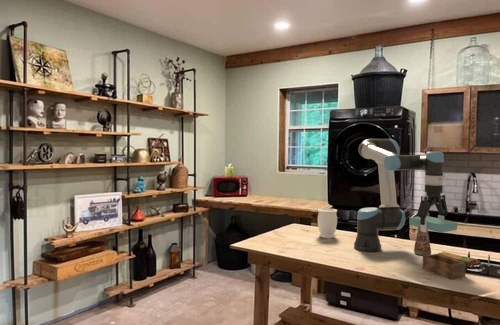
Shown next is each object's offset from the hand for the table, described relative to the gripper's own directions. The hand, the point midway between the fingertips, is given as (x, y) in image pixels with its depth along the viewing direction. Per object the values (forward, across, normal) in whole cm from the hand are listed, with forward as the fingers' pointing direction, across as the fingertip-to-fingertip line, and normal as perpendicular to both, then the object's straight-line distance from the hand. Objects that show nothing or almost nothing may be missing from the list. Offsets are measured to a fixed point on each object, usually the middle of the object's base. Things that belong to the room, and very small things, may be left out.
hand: (432, 230), depth 171 cm
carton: (+20, +20, +1) cm, 28 cm away
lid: (-1, 0, 0) cm, 1 cm away
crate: (+19, 0, -7) cm, 20 cm away
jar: (+21, -4, +74) cm, 78 cm away
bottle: (+20, +19, +20) cm, 34 cm away
